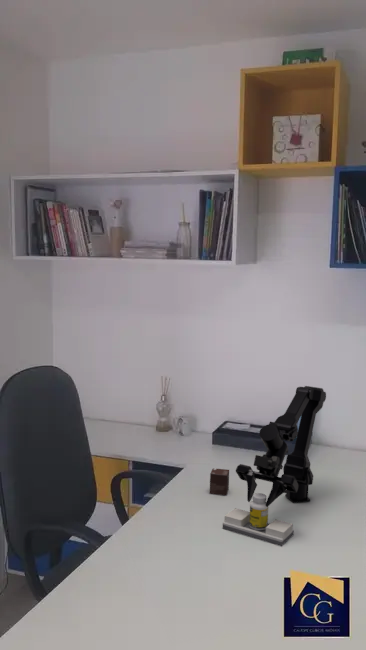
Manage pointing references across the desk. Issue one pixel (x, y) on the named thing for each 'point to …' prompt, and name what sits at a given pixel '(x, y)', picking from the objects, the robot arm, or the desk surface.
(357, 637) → the desk surface
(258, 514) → the supplement bottle
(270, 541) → the rail plate
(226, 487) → the box
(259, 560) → the desk surface
